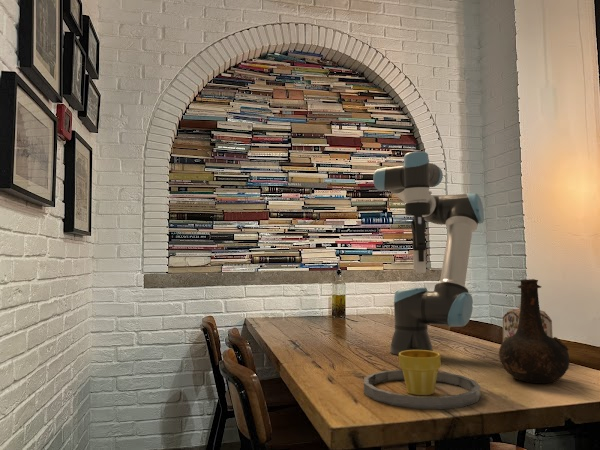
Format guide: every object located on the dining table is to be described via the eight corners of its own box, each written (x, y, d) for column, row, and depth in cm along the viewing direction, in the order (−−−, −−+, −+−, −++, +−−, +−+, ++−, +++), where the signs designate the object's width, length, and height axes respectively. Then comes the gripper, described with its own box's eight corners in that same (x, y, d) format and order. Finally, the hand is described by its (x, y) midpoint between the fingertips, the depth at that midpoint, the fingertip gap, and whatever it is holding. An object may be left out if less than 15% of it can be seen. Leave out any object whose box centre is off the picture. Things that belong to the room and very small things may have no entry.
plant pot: (406, 398, 120) (405, 357, 121) (394, 387, 131) (394, 350, 131) (447, 397, 121) (446, 356, 122) (433, 386, 132) (432, 349, 132)
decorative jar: (554, 359, 165) (552, 305, 167) (522, 361, 164) (520, 306, 165) (532, 353, 177) (530, 302, 178) (502, 354, 175) (500, 303, 176)
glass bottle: (569, 391, 126) (565, 281, 128) (495, 383, 135) (492, 280, 137) (570, 376, 142) (566, 278, 144) (503, 370, 151) (501, 277, 152)
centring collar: (341, 389, 128) (341, 380, 129) (411, 373, 146) (411, 365, 146) (432, 417, 106) (431, 405, 106) (502, 394, 124) (501, 384, 124)
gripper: (434, 198, 139) (436, 274, 139) (426, 205, 164) (428, 269, 163) (406, 199, 141) (409, 274, 140) (403, 205, 165) (405, 269, 164)
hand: (419, 271), depth 152 cm, fingers open, 13 cm apart
